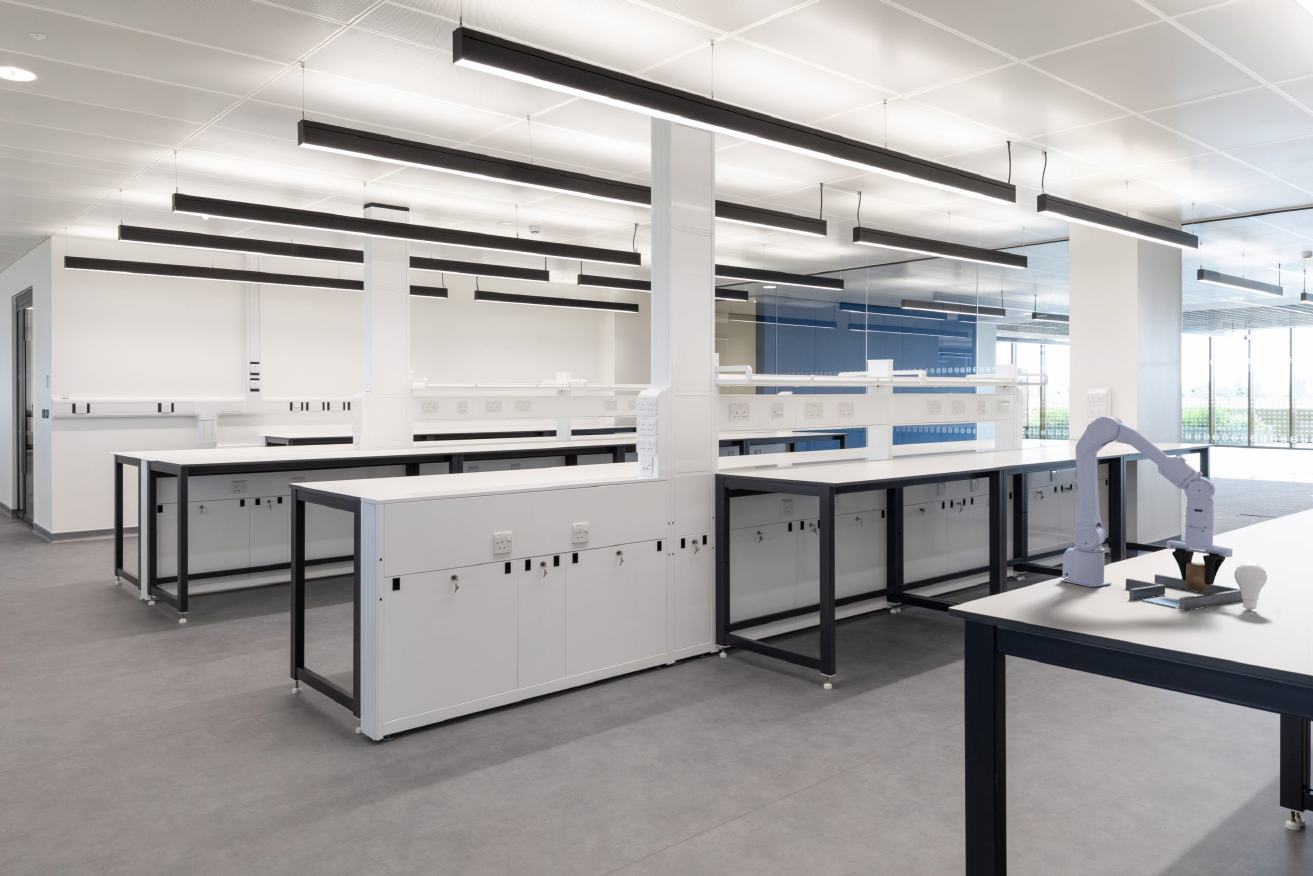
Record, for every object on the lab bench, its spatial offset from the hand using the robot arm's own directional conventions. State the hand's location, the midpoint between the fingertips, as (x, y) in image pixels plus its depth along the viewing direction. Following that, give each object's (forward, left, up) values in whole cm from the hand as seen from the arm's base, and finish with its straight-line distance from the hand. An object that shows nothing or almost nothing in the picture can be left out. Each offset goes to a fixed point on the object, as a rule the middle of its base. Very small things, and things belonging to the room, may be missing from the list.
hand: (1197, 582), depth 208 cm
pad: (+1, -13, -4) cm, 14 cm away
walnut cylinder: (0, 0, -2) cm, 2 cm away
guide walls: (-4, -6, -4) cm, 8 cm away
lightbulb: (+14, -4, -4) cm, 15 cm away
